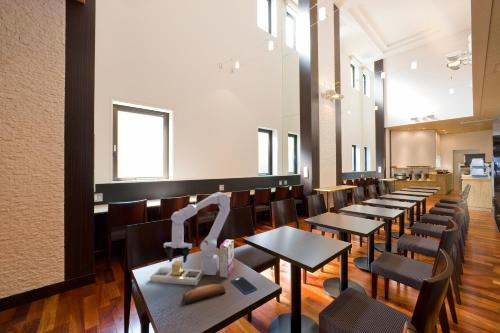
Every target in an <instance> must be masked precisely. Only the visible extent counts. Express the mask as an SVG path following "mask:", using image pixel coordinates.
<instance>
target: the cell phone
mask: <svg viewBox="0 0 500 333" xmlns="http://www.w3.org/2000/svg"><path fill="white" fill-rule="evenodd" d="M230 282H231V284H233V285H234V286H235V287H236V289H238V290H239V291H240V292H241V293H242V294H243V295H249V294H252V293H253V292H255V291H258V290H257V289H258V288H257V286H255V285H254V284H253V283H251V282H250V281H249V280H247V279H246V278H245V277H244V276H239V277H237V278H234V279H232V280H230Z"/></svg>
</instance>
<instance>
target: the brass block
mask: <svg viewBox="0 0 500 333" xmlns="http://www.w3.org/2000/svg"><path fill="white" fill-rule="evenodd" d="M171 268H172V276H179V277H181V276H182V274H183V269H184V263H183V260H182V261H181V260H179V261H177V260H175V261H174V262H173V263H172V264H171Z"/></svg>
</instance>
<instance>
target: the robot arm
mask: <svg viewBox="0 0 500 333" xmlns="http://www.w3.org/2000/svg"><path fill="white" fill-rule="evenodd" d="M230 203H231V199H230V196H229V195H228V194H227V193H226V192H225V193H224V192H222V191H217V192H215V193H212V194H210V195H209V196H208V197H206V198H204V199H202V200H201V201H199V202H197V203H196V204H193V203H191V204H187V206H186V207H184V208H181V209H179V210H178V211H174V212H173V213H172V215H171V217H170V220H171V221H172V223H171V225H172V226H171V241H170V242H165V243H163V248H164V252H165V253H166V255H167V257H168V263H171V262H172V261H173V259H174V258H173V257H174V255H173V254H174V253H173V252H174V249H178V248H179V249H182V250H181V252H182V261H183V264H185V263H186V262H187V260H188V256H189V253H190V250H191V249H192V248H193V243H187V242H184V237H185V236H184V234H185V231H184V230H185V228H184V227H185V226H184V223H185V221H186V220H187V219H190V218H192V217H193V216H195V215H197V213H198V211H199V210H201V209H203V208H206V207H207V206H210V205H211V204H213V205H214V204H215V205H217V206H218V208H219V211H218V213H217V215H216V218H215V219H214V223H213V225H212V226H211V228H210V231H209V233H208V235H207V236H205V238H204V240H202V242H201V243H200V245H199V249H200V251H201V253H200V270H203V275H205V276H206V275H207V276H209V275H210V276H215V275H216V274H217V272H218V271H219V270H220V256H219V255H218V254H216V248H217V246H218V245H217V242H218V241H217V240H218V238H219V235H220V233H221V231H222V229H223V226H224V225H225V222H226V220H227V219H228V218H227V217H229V213H230V212H231V206H230Z"/></svg>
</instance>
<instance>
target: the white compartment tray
mask: <svg viewBox="0 0 500 333" xmlns="http://www.w3.org/2000/svg"><path fill="white" fill-rule="evenodd" d="M202 277H204V274H203V270H201V269H194V268H183V274H182V276H181V277H179V276H172V267H164V266H163V267H160V268H159V269H157V270H156V271H155V272H154V273H153V274H151V276H150V278H149V279H150V282H152V283H165V284H166V283H167V284H176V285H177V284H178V285H179V284H180V285H190V286H197V285H198V283H199V282H200V280H201V278H202Z"/></svg>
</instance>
